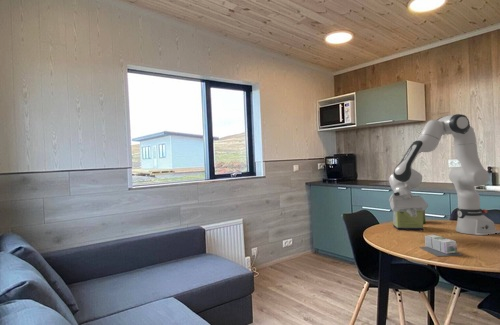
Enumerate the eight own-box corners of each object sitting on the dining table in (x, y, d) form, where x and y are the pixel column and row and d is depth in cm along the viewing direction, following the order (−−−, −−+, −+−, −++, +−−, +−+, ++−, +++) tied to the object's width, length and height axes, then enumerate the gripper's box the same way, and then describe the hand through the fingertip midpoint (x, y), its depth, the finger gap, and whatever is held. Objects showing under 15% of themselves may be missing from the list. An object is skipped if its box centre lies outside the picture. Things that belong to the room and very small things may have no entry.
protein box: (423, 230, 198) (423, 205, 198) (397, 230, 201) (396, 205, 201) (418, 226, 209) (417, 203, 208) (392, 226, 211) (392, 203, 211)
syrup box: (425, 246, 164) (446, 254, 150) (424, 235, 164) (446, 242, 150) (434, 245, 165) (457, 253, 151) (434, 233, 165) (456, 241, 151)
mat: (441, 246, 164) (441, 245, 164) (462, 255, 149) (462, 254, 149) (419, 247, 163) (419, 246, 163) (438, 256, 148) (437, 256, 148)
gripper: (419, 198, 190) (429, 218, 180) (386, 200, 189) (394, 220, 179) (423, 192, 185) (434, 211, 176) (389, 193, 184) (398, 213, 175)
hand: (414, 216), depth 178 cm, fingers closed
